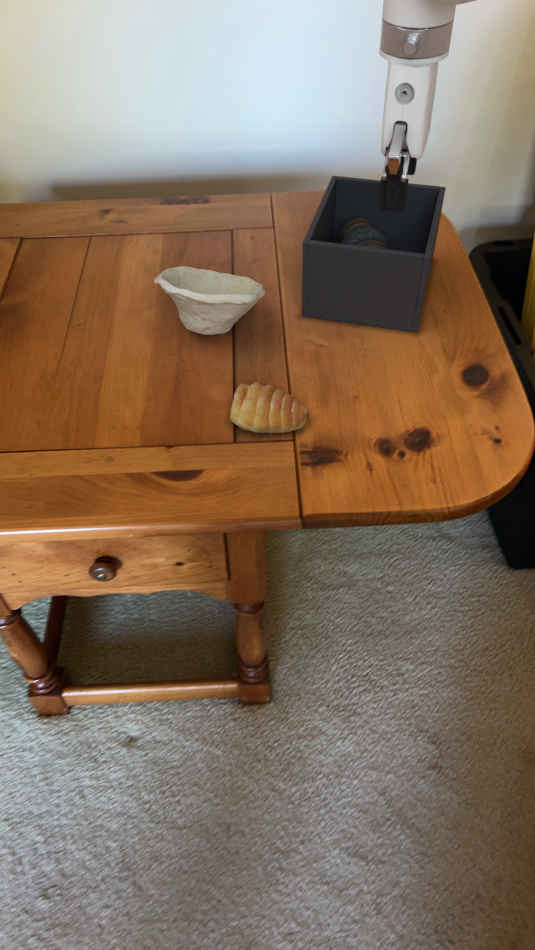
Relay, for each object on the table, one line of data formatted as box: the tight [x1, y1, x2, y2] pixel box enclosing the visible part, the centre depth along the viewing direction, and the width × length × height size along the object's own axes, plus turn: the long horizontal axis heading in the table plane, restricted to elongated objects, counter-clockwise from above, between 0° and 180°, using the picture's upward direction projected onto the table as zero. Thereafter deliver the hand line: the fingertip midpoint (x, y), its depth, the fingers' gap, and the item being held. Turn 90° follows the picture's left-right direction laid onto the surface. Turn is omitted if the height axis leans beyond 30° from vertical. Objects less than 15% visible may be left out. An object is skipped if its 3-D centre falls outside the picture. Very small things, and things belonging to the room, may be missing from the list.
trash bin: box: [301, 175, 447, 333], centre depth 95 cm, size 17×19×12 cm
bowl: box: [153, 265, 266, 336], centre depth 91 cm, size 15×14×10 cm
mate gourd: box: [339, 217, 389, 250], centre depth 99 cm, size 7×8×10 cm
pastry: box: [229, 381, 309, 434], centre depth 81 cm, size 9×7×4 cm
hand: (397, 191), depth 84 cm, fingers open, 9 cm apart
